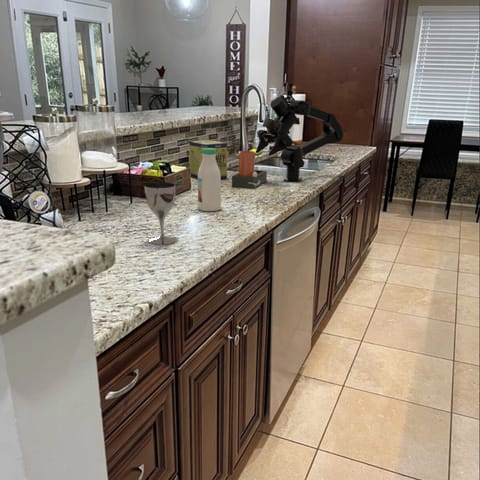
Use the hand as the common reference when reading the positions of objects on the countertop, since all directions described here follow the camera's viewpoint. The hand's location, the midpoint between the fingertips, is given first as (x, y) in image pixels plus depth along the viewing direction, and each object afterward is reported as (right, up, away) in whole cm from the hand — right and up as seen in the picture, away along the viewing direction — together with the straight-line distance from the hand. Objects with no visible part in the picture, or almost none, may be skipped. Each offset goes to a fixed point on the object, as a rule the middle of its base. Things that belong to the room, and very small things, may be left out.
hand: (262, 153), depth 210 cm
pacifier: (-5, -11, -2) cm, 12 cm away
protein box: (-24, -6, +18) cm, 30 cm away
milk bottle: (-20, -30, -38) cm, 53 cm away
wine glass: (-31, -45, -73) cm, 91 cm away
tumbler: (-7, -13, +1) cm, 14 cm away
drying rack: (-5, -12, +5) cm, 14 cm away
